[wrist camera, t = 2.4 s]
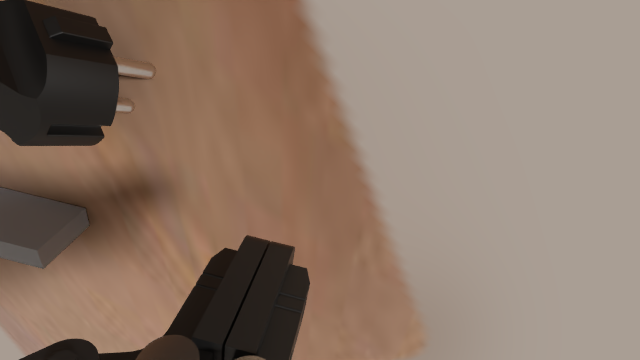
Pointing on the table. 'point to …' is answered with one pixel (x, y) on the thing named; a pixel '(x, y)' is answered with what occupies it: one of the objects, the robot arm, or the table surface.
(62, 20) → the power plug
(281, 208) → the table surface
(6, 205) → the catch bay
